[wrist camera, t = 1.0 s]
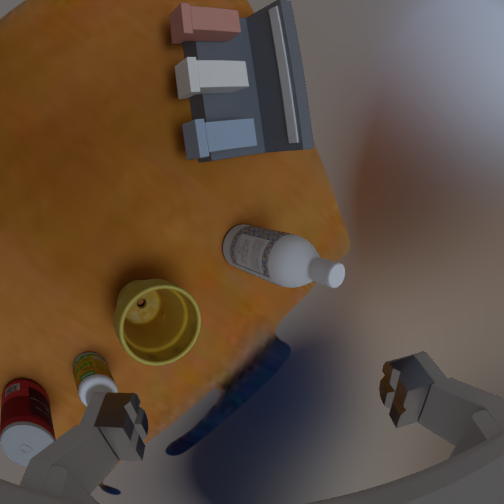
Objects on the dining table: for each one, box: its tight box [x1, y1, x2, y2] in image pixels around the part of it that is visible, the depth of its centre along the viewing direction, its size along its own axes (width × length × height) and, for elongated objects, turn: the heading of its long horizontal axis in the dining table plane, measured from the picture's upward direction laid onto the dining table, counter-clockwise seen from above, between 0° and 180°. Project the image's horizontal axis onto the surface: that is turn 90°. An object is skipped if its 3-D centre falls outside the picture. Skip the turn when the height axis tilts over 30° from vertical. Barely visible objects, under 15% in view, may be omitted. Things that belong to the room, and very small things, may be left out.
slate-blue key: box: [182, 118, 257, 160], centre depth 39 cm, size 8×5×4 cm, turn 99°
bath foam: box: [223, 224, 345, 288], centre depth 44 cm, size 7×7×20 cm
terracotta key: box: [169, 3, 241, 44], centre depth 34 cm, size 8×5×4 cm, turn 99°
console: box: [183, 0, 314, 162], centre depth 39 cm, size 11×22×12 cm, turn 9°
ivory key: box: [175, 57, 249, 99], centre depth 37 cm, size 8×5×4 cm, turn 99°
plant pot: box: [114, 279, 201, 366], centre depth 40 cm, size 10×10×10 cm
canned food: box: [0, 379, 56, 467], centre depth 30 cm, size 8×8×11 cm
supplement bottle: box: [73, 352, 118, 406], centre depth 36 cm, size 5×5×10 cm
